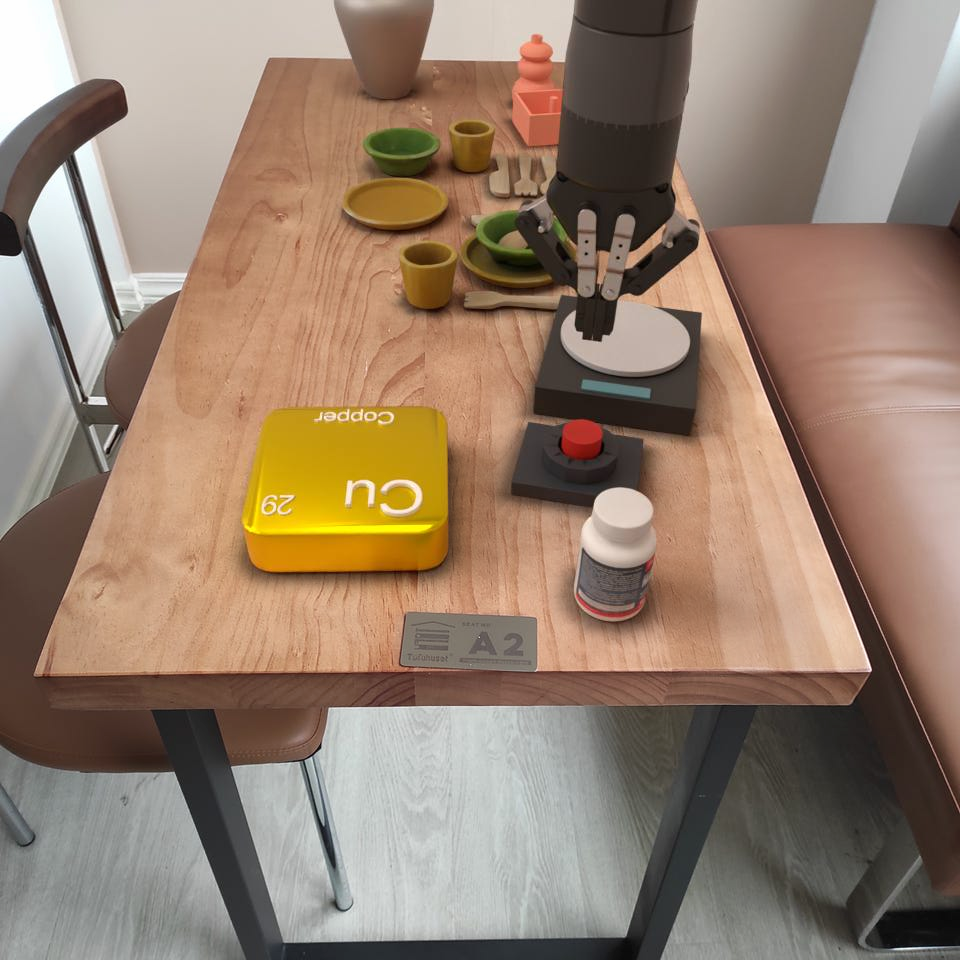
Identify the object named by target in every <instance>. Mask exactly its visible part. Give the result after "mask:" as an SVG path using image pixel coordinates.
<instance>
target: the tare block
mask: <svg viewBox="0 0 960 960" xmlns="http://www.w3.org/2000/svg"><path fill="white" fill-rule="evenodd" d="M567 423H568V422H564V423H558V424H556V425H552V424H546V423H545V424H544V423H539V422H531V421H528V422H527V425H526V429H525V432H524V436H523V440H522V443H521V446H520V450H519V453H518V457H517V461H516V465H515V468H514V471H513V475H512V479H511V483H510V494H511V495H514V496H521V497H527V498H531V499H532V498H534V499H538V500H544V501H545V500H546V501H552V502H557V503H565V504H571V505H577V506H583V507H590V508H593V507H594V502H595V499H596V498H597V496H598V495H599V494H600V493H602V492H603V491H605V490H608V489H611V488H629V489H633V490H636V491H638V489H639V482H640V481H639V480H640V473H641V472H640V471H641V464H642V456H643V448H644V441H645V440H644V438H640V437H634V436H627V435H620V434H614V433H612V432H611V430H608V429H606V428H605V427H602V426H601V425H599V426H600V428H601V429H602V432H603V436H602V443H601V450H600V453H599V454H598V456H597V457H595V458H593V459H589V460H579V459H572V458H571V457H569V456H567V455H565V454H564V452H563V451H562V448H561V445H562V435H563V428H564V426H565V425H566V424H567Z"/></svg>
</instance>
